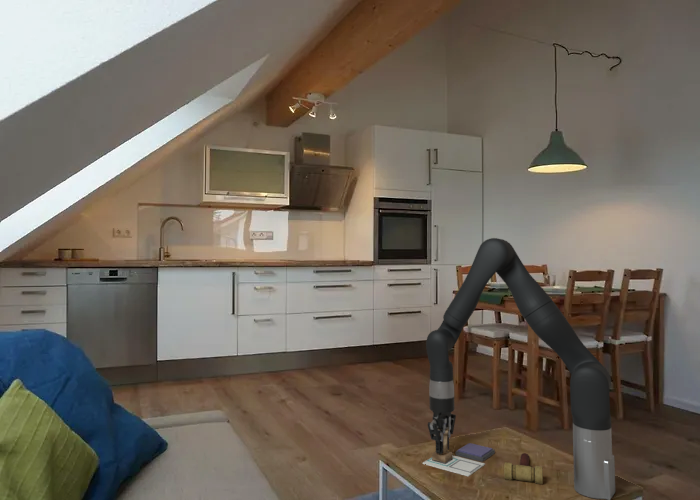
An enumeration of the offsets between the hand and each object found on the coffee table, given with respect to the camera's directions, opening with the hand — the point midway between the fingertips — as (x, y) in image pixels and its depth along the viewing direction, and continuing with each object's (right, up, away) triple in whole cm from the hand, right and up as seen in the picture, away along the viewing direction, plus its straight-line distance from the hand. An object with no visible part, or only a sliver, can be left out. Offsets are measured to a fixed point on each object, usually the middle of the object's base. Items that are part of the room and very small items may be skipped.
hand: (442, 451), depth 154 cm
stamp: (0, -3, 0) cm, 3 cm away
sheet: (+3, -3, -2) cm, 5 cm away
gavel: (+23, -3, -6) cm, 24 cm away
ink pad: (+11, -3, +5) cm, 13 cm away
